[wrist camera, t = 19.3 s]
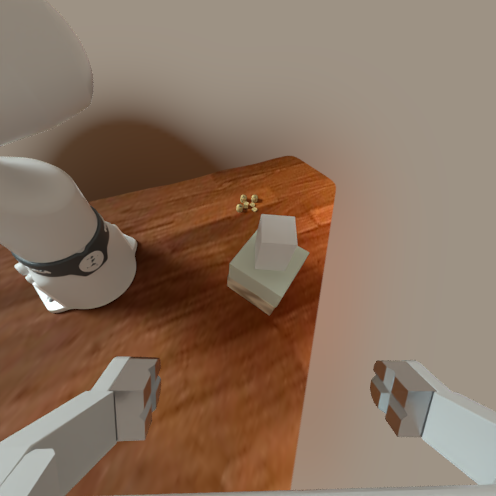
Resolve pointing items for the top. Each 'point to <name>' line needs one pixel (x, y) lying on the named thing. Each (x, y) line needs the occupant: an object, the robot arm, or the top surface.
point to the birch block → (250, 296)
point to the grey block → (275, 242)
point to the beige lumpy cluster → (243, 200)
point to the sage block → (264, 273)
